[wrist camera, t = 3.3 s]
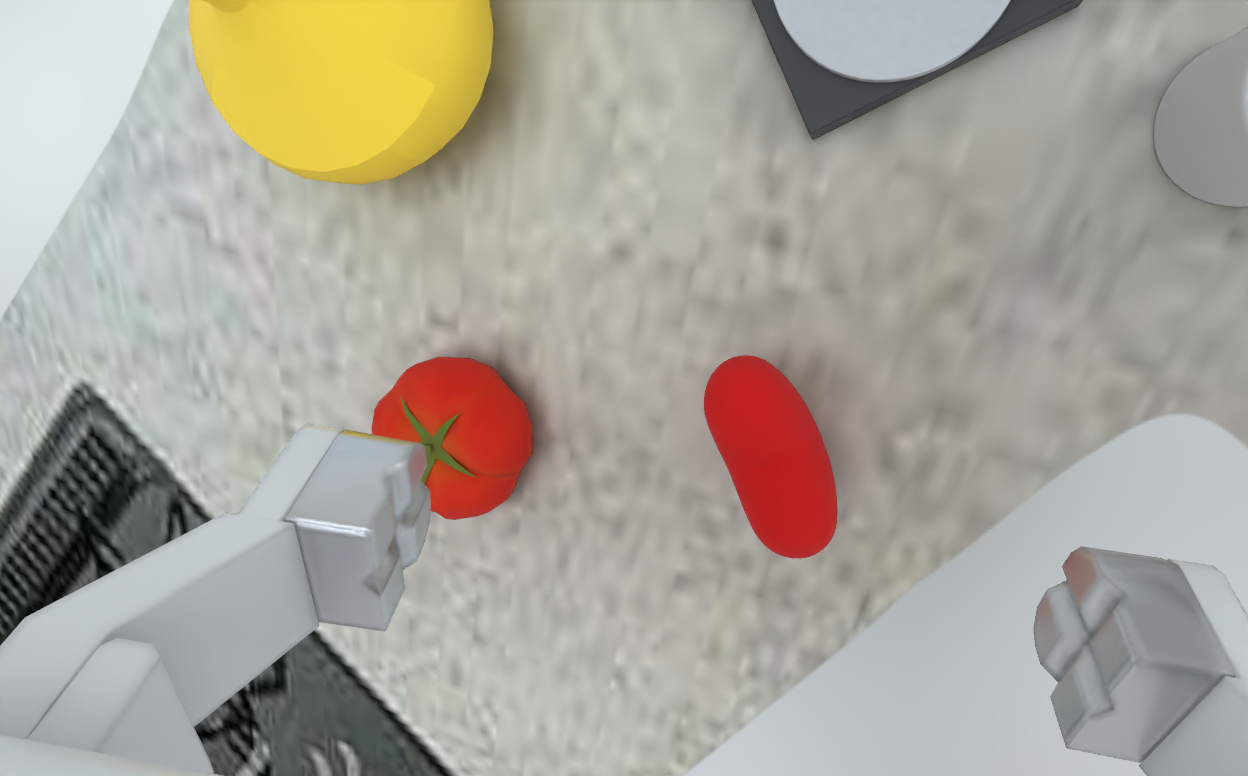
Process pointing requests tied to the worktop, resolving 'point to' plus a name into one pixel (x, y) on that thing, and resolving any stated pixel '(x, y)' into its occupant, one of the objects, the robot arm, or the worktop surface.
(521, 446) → the tomato
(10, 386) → the worktop surface
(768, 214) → the worktop surface
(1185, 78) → the mug
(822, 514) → the heart
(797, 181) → the worktop surface
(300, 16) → the vase
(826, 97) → the scale
